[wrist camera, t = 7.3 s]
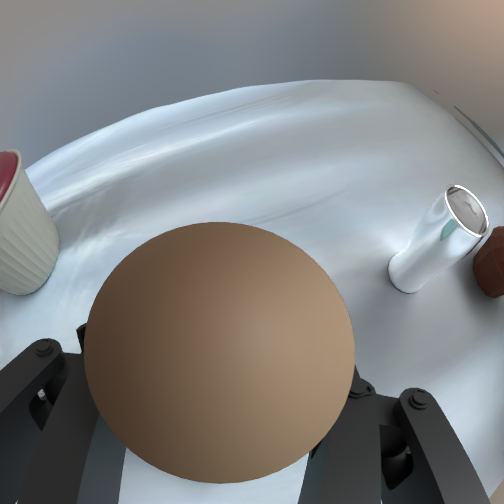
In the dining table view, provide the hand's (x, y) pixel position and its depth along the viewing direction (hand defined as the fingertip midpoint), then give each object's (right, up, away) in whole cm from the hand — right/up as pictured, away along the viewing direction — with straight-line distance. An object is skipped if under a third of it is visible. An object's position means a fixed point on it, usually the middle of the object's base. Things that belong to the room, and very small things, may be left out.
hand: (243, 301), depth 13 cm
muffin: (+41, -2, +20) cm, 46 cm away
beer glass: (+22, -1, +20) cm, 30 cm away
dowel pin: (-1, -5, +1) cm, 5 cm away
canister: (-35, +1, +20) cm, 40 cm away
